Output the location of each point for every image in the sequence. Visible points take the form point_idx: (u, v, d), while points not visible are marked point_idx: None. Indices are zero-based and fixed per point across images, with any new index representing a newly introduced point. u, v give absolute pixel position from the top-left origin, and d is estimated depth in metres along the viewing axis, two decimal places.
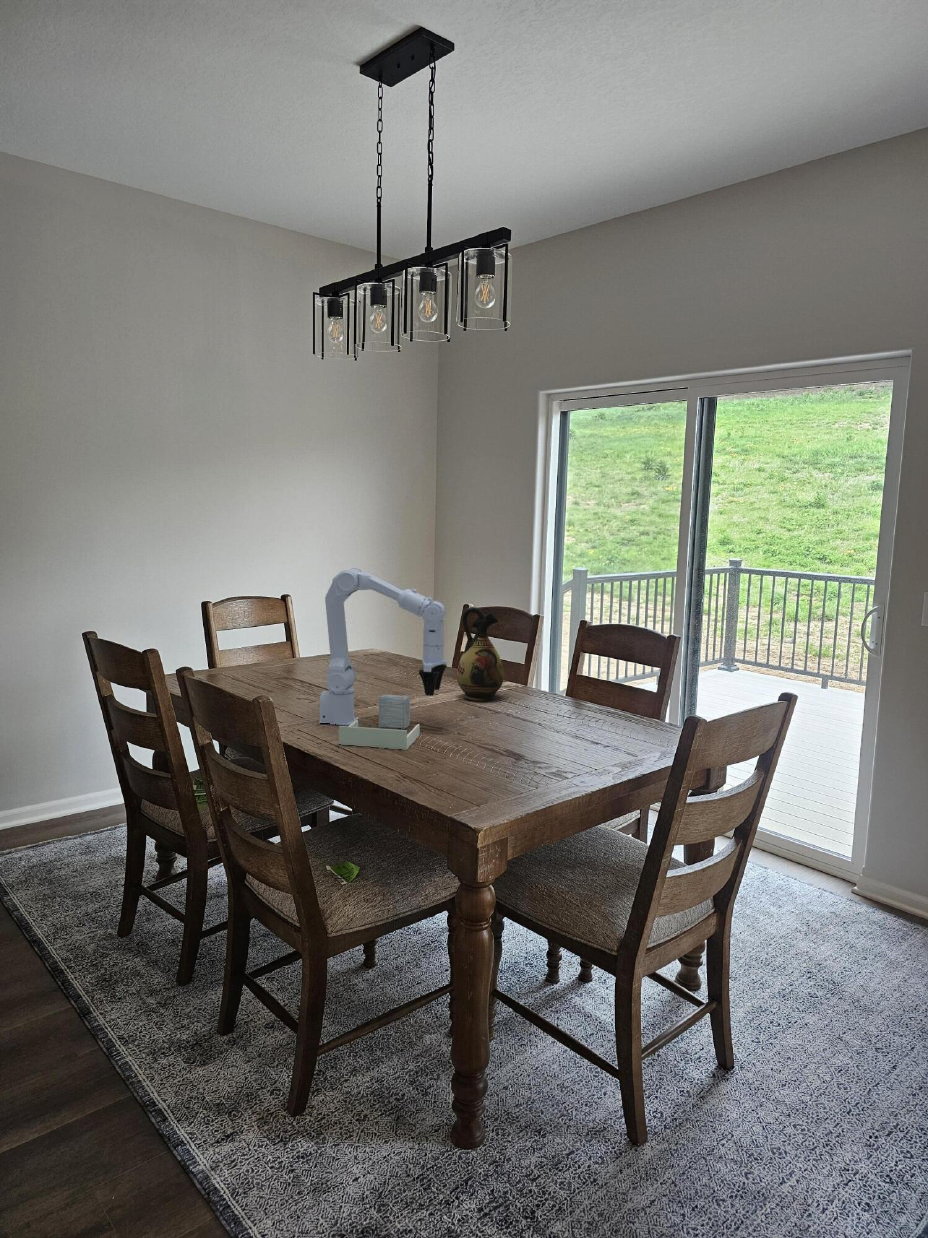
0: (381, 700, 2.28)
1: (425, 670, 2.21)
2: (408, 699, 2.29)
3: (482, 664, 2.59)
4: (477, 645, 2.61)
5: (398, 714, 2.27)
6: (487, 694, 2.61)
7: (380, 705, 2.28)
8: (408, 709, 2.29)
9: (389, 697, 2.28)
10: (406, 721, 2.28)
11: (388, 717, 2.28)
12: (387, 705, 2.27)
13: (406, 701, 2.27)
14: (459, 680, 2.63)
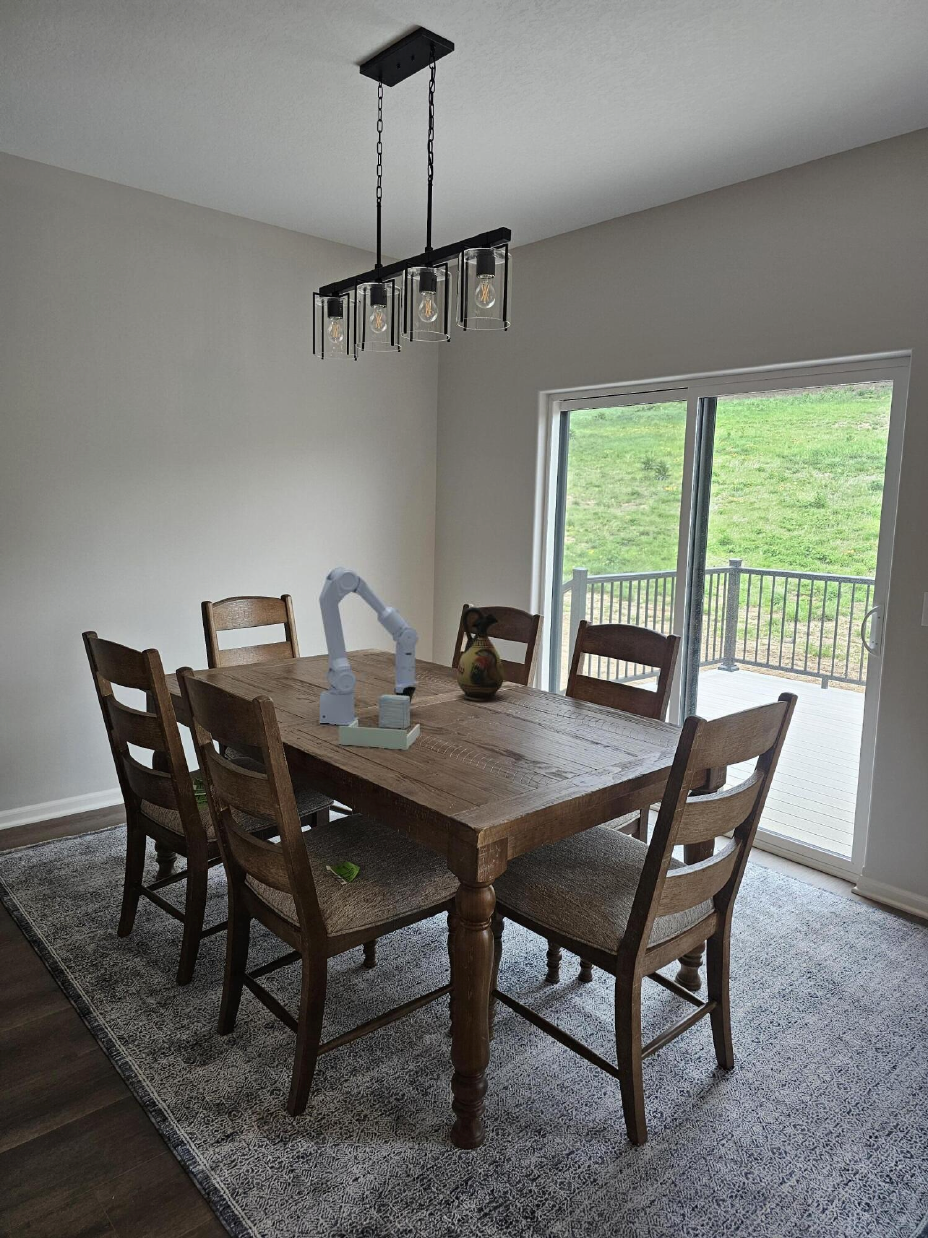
0: (381, 700, 2.28)
1: (397, 691, 2.33)
2: (408, 699, 2.29)
3: (482, 664, 2.59)
4: (477, 645, 2.61)
5: (398, 714, 2.27)
6: (487, 694, 2.61)
7: (380, 705, 2.28)
8: (408, 709, 2.29)
9: (389, 697, 2.28)
10: (406, 721, 2.28)
11: (388, 717, 2.28)
12: (387, 705, 2.27)
13: (406, 701, 2.27)
14: (459, 680, 2.63)
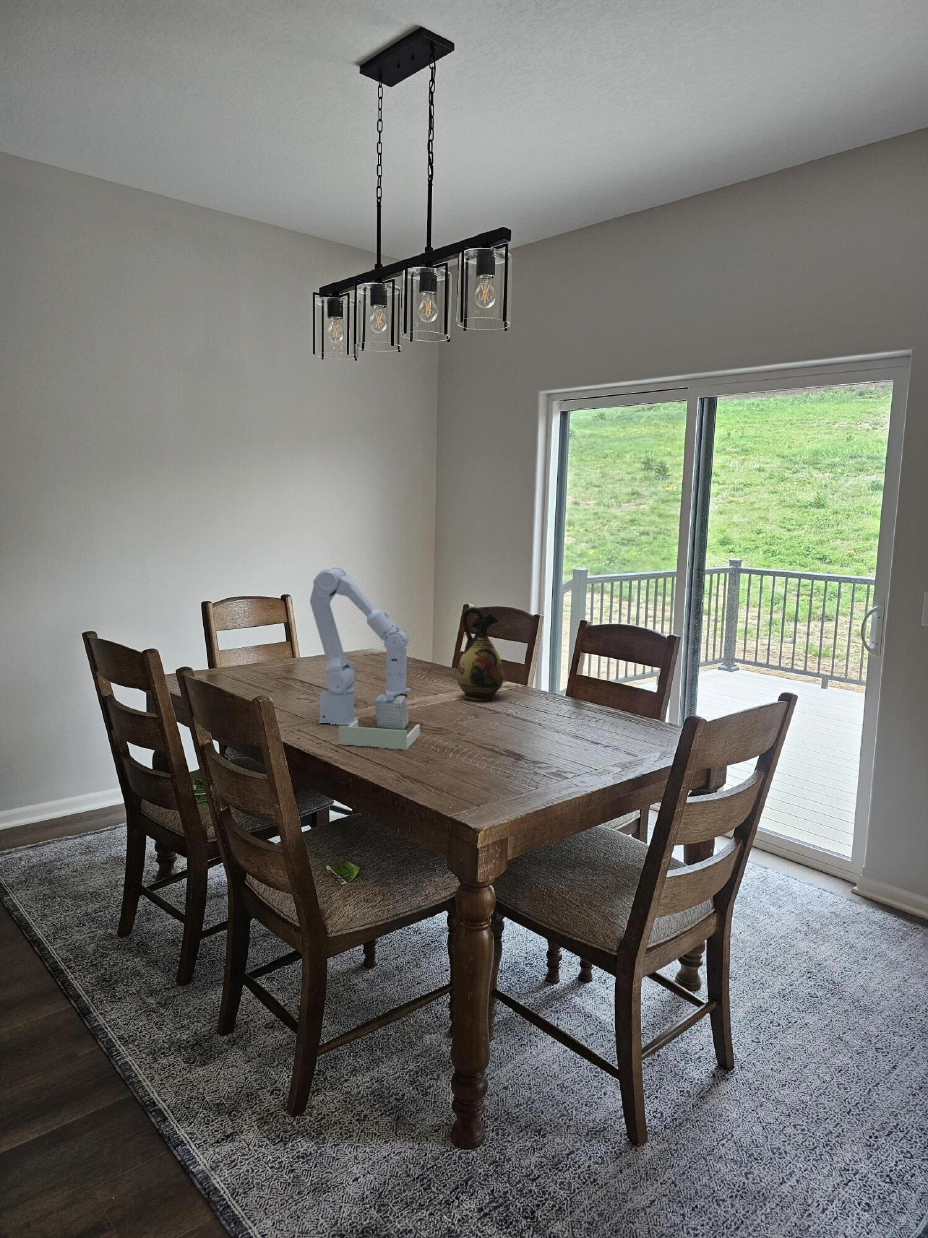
0: (377, 704, 2.25)
1: (387, 699, 2.23)
2: (404, 700, 2.25)
3: (482, 664, 2.59)
4: (477, 645, 2.61)
5: (395, 716, 2.25)
6: (487, 694, 2.61)
7: (376, 708, 2.25)
8: (405, 709, 2.26)
9: (385, 700, 2.25)
10: (404, 721, 2.26)
11: (386, 719, 2.26)
12: (383, 708, 2.25)
13: (402, 703, 2.24)
14: (459, 680, 2.63)
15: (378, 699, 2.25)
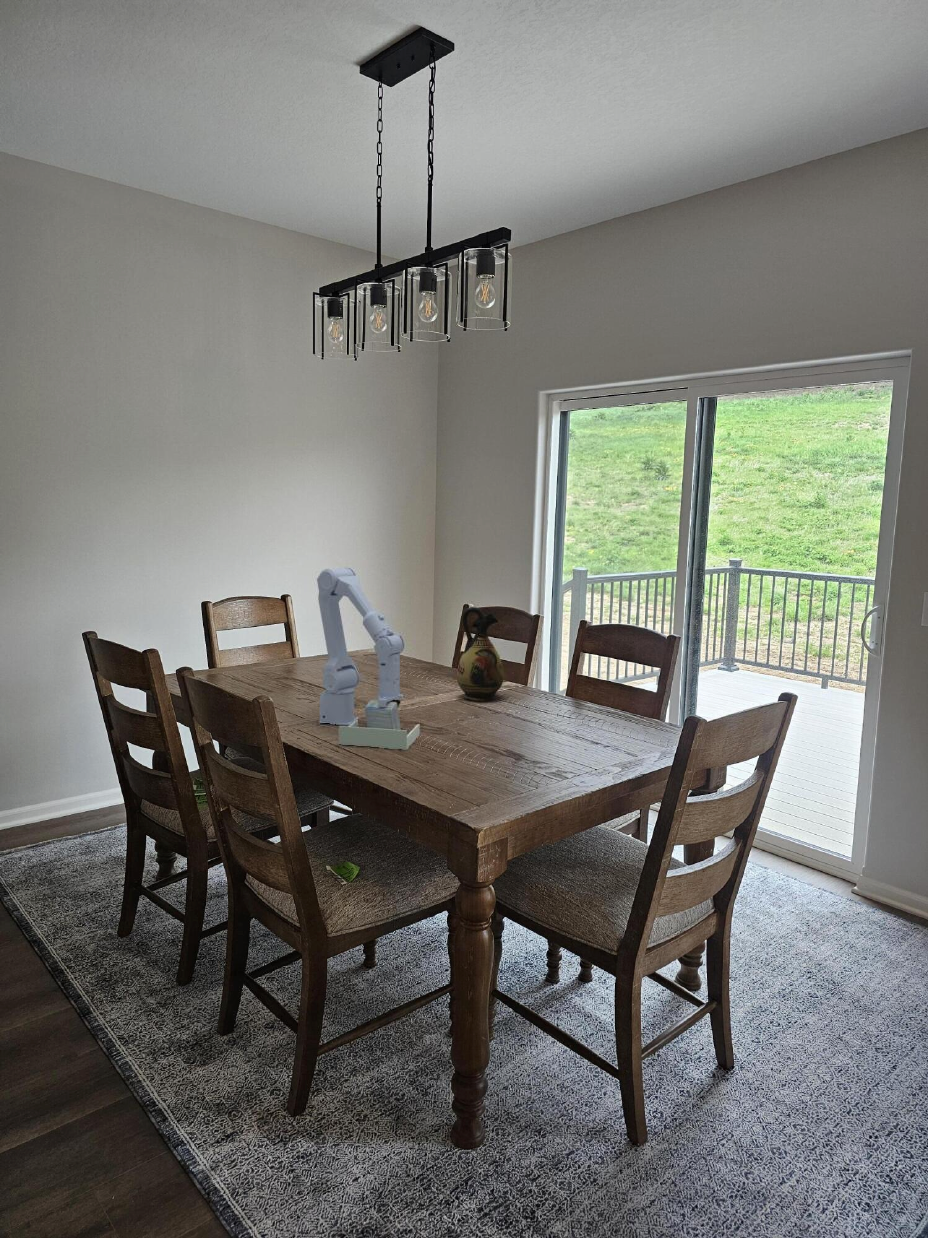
0: (367, 710, 2.17)
1: (380, 705, 2.16)
2: (395, 706, 2.17)
3: (482, 664, 2.59)
4: (477, 645, 2.61)
5: (386, 723, 2.17)
6: (487, 694, 2.61)
7: (367, 714, 2.18)
8: (396, 715, 2.19)
9: (375, 706, 2.17)
10: (395, 728, 2.18)
11: (377, 725, 2.18)
12: (373, 715, 2.17)
13: (393, 710, 2.16)
14: (459, 680, 2.63)
15: (368, 705, 2.18)
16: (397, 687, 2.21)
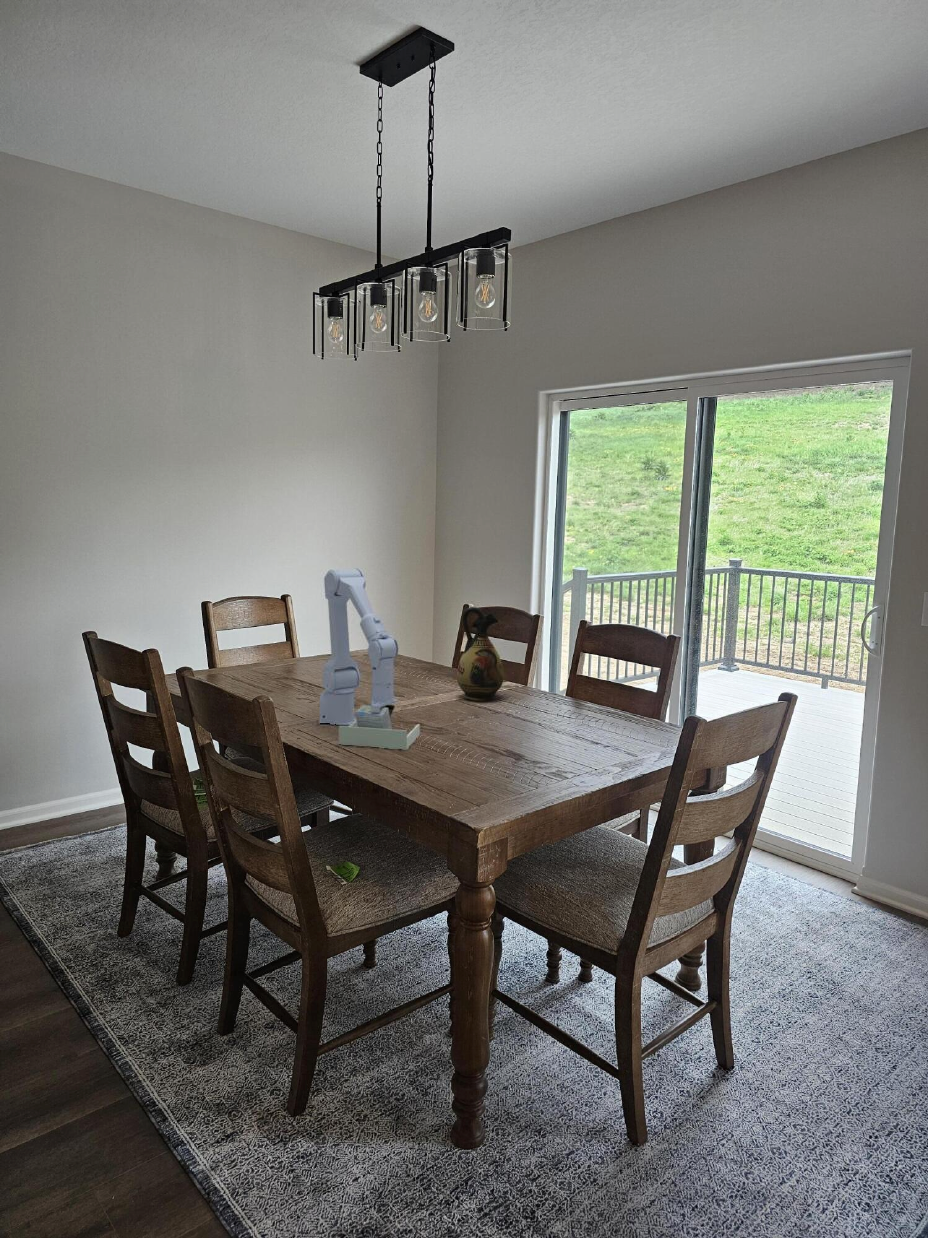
0: (358, 716, 2.12)
1: (373, 711, 2.10)
2: (386, 712, 2.11)
3: (482, 664, 2.59)
4: (477, 645, 2.61)
5: None
6: (487, 694, 2.61)
7: (357, 720, 2.12)
8: (388, 721, 2.12)
9: (366, 711, 2.11)
10: None
11: None
12: (364, 720, 2.11)
13: (383, 716, 2.10)
14: (459, 680, 2.63)
15: (359, 710, 2.12)
16: (391, 692, 2.15)
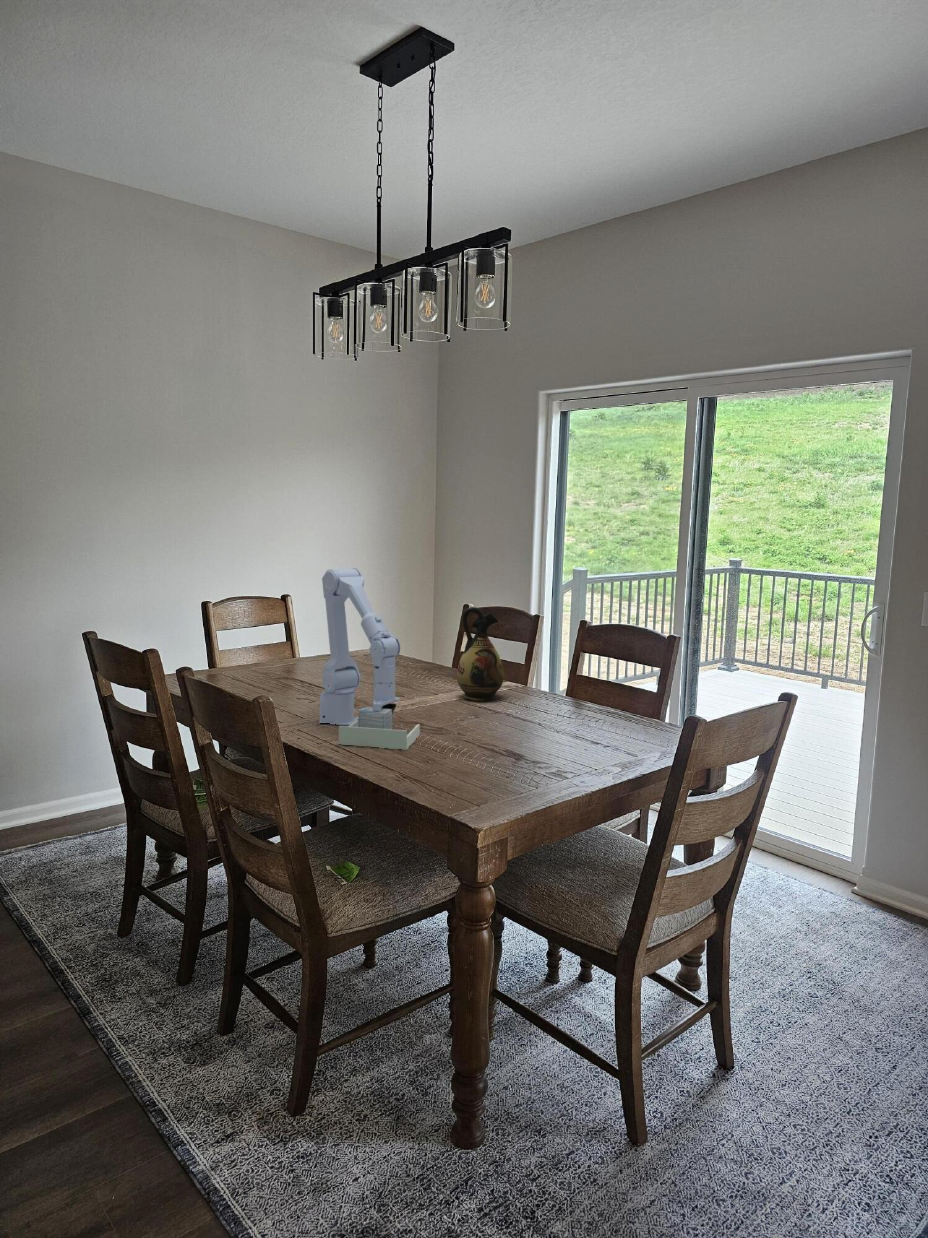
0: (361, 713, 2.13)
1: (375, 709, 2.12)
2: (390, 712, 2.13)
3: (482, 664, 2.59)
4: (477, 645, 2.61)
5: None
6: (487, 694, 2.61)
7: (360, 718, 2.13)
8: (390, 723, 2.13)
9: (369, 710, 2.13)
10: None
11: None
12: (366, 718, 2.12)
13: (387, 715, 2.11)
14: (459, 680, 2.63)
15: (363, 709, 2.14)
16: (393, 691, 2.17)
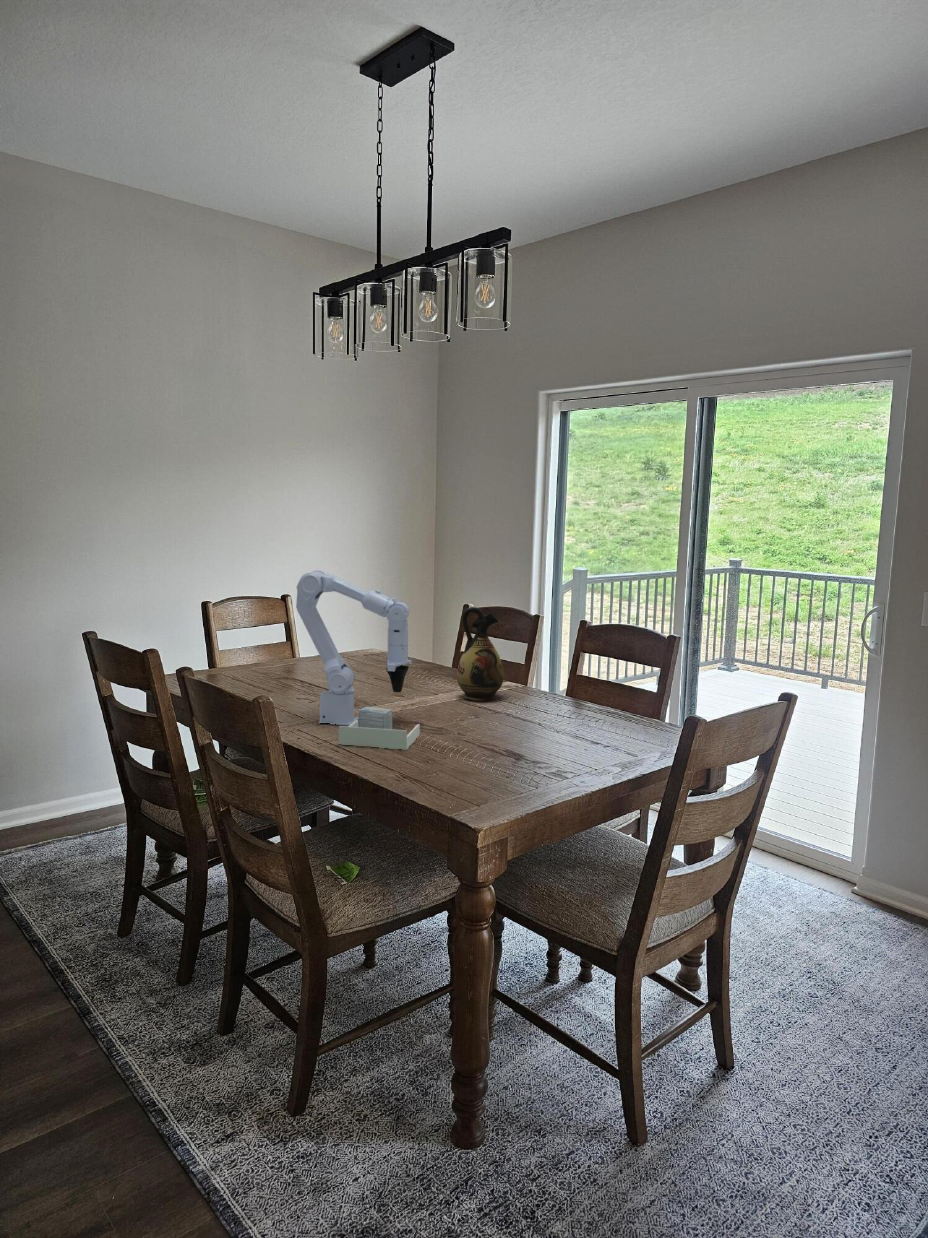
0: (361, 713, 2.13)
1: (389, 670, 2.24)
2: (390, 712, 2.13)
3: (482, 664, 2.59)
4: (477, 645, 2.61)
5: None
6: (487, 694, 2.61)
7: (360, 718, 2.13)
8: (390, 723, 2.13)
9: (369, 710, 2.13)
10: None
11: None
12: (366, 718, 2.12)
13: (387, 715, 2.11)
14: (459, 680, 2.63)
15: (363, 709, 2.14)
16: (405, 653, 2.29)
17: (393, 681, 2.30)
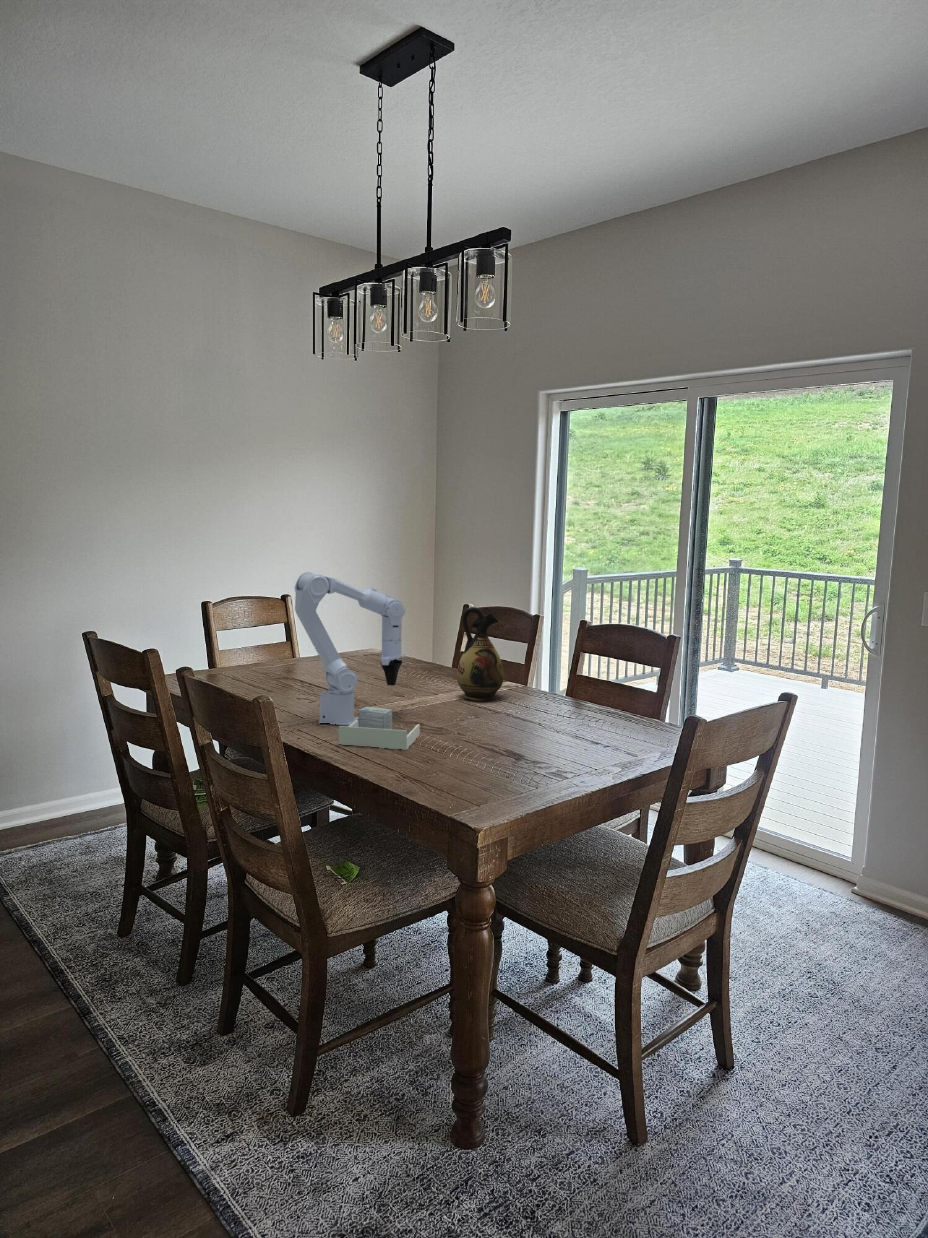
0: (361, 713, 2.13)
1: (383, 663, 2.32)
2: (390, 712, 2.13)
3: (482, 664, 2.59)
4: (477, 645, 2.61)
5: None
6: (487, 694, 2.61)
7: (360, 718, 2.13)
8: (390, 723, 2.13)
9: (369, 710, 2.13)
10: None
11: None
12: (366, 718, 2.12)
13: (387, 715, 2.11)
14: (459, 680, 2.63)
15: (363, 709, 2.14)
16: (399, 647, 2.37)
17: (387, 675, 2.39)
